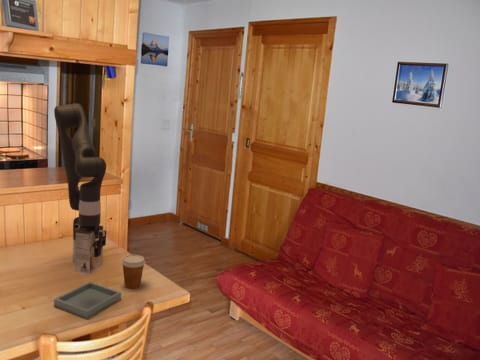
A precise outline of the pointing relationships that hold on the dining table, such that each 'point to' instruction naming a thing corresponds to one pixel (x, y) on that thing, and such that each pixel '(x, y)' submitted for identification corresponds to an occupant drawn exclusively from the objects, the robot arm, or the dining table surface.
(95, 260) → the coffee box
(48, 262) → the dining table surface
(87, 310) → the tray
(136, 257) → the disposable coffee cup
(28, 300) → the dining table surface
